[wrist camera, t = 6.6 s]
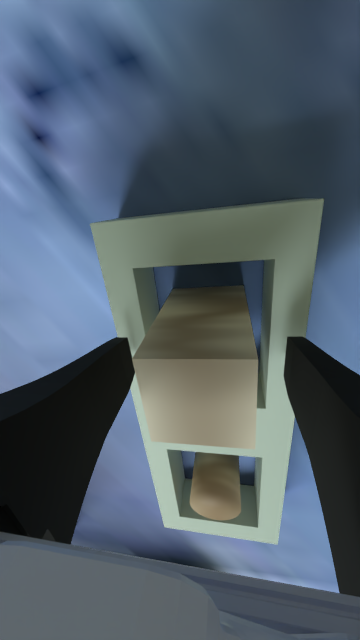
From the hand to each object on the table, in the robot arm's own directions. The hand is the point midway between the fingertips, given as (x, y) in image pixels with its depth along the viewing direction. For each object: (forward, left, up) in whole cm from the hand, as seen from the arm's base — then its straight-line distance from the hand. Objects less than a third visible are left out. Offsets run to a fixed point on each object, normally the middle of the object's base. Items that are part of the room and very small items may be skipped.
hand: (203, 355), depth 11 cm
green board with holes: (0, +6, -4) cm, 7 cm away
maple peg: (0, 0, -4) cm, 4 cm away
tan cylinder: (0, +12, -4) cm, 13 cm away
